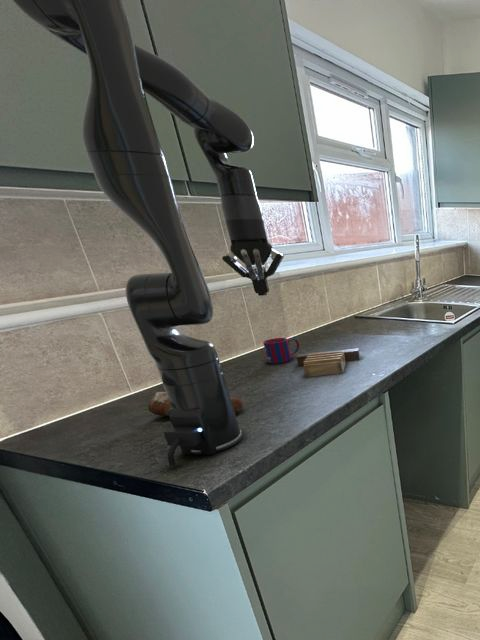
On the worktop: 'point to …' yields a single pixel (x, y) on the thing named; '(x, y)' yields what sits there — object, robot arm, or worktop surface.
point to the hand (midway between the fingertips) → (263, 294)
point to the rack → (324, 363)
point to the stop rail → (349, 353)
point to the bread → (162, 404)
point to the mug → (279, 350)
